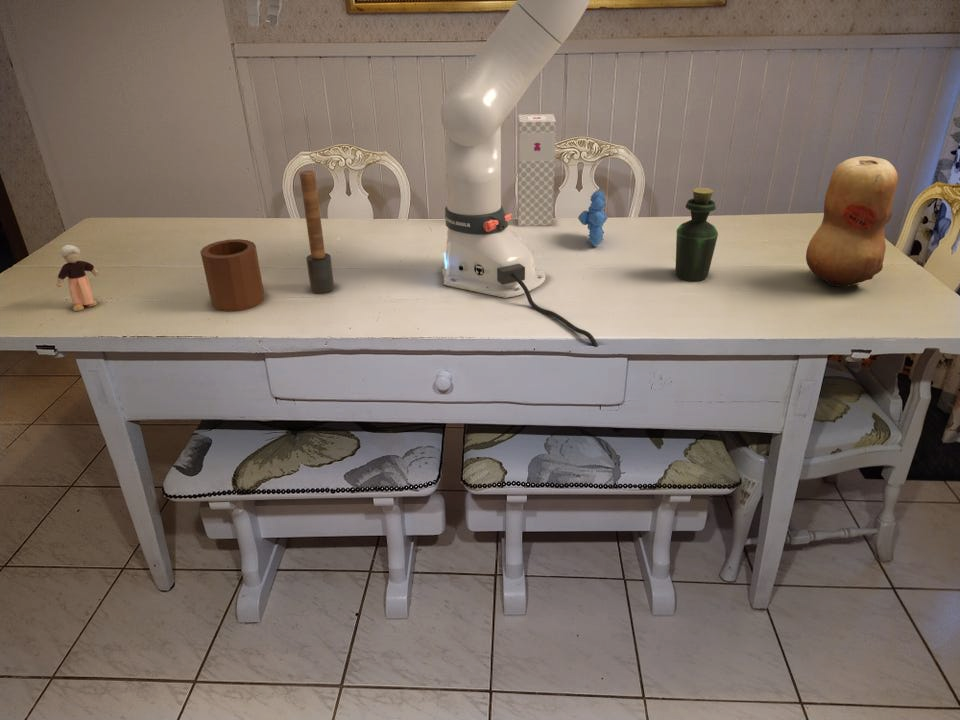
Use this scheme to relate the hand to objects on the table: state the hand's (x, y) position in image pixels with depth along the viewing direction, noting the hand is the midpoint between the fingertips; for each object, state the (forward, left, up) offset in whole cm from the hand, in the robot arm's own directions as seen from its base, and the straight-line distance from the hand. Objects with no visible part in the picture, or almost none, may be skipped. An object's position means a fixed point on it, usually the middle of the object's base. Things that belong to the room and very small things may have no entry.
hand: (263, 26), depth 132 cm
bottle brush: (-10, +2, -49) cm, 50 cm away
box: (-19, -59, -49) cm, 79 cm away
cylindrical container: (-1, +16, -49) cm, 51 cm away
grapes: (-39, -54, -49) cm, 82 cm away
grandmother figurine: (+21, +36, -49) cm, 64 cm away
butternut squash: (-91, -64, -49) cm, 121 cm away
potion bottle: (-66, -50, -49) cm, 96 cm away
